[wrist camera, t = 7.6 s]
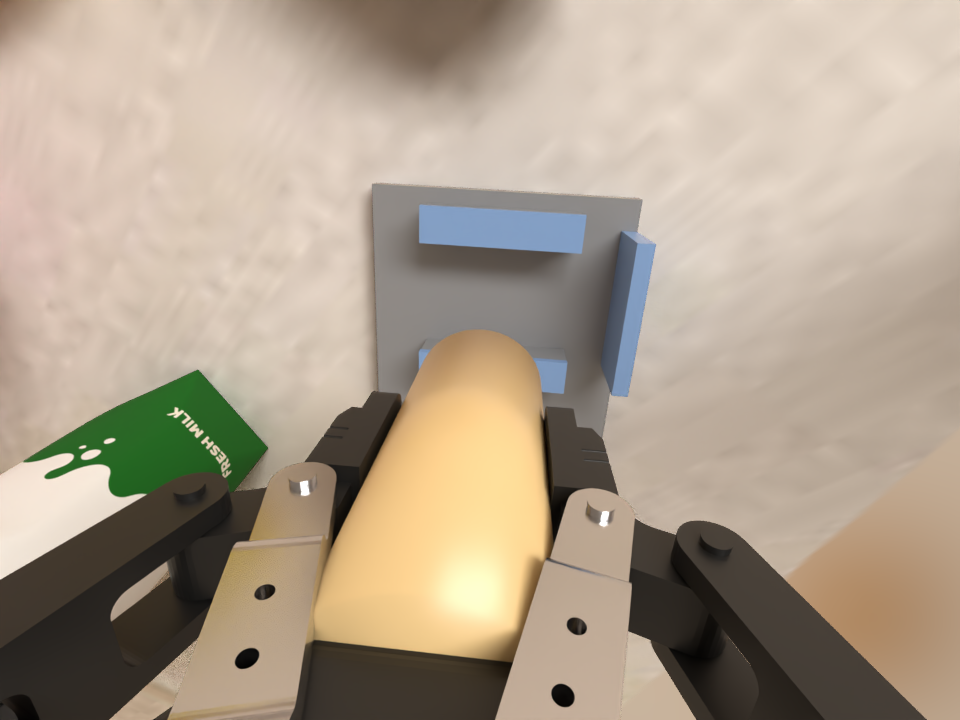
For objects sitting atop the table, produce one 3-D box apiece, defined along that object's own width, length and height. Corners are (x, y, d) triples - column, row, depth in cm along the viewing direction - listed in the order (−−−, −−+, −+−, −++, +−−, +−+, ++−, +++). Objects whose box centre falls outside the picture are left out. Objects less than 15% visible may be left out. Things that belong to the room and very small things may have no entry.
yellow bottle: (547, 334, 15) (613, 821, 4) (535, 446, 17) (557, 1019, 6) (418, 324, 15) (145, 759, 4) (418, 435, 17) (216, 967, 6)
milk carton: (111, 413, 34) (-378, 714, 16) (199, 350, 32) (-257, 619, 13) (200, 503, 36) (-132, 856, 18) (289, 451, 34) (9, 797, 16)
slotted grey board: (638, 198, 26) (662, 207, 21) (576, 571, 36) (583, 632, 31) (377, 182, 27) (346, 188, 22) (387, 551, 37) (367, 608, 32)
